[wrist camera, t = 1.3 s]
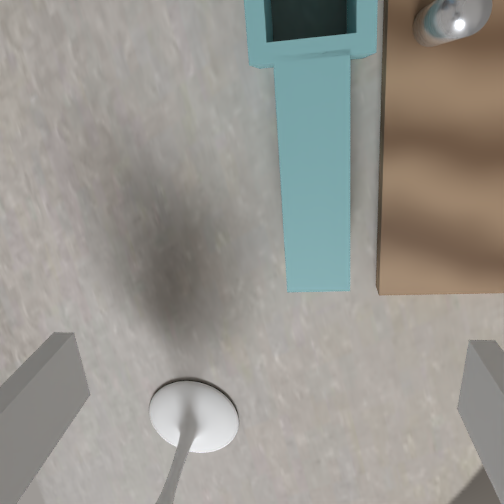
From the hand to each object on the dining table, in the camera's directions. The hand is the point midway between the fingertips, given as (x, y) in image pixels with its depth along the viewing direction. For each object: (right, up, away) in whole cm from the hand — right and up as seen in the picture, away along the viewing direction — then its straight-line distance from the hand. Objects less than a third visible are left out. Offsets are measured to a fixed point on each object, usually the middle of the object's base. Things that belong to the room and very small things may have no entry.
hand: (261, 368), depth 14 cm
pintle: (+10, +18, +11) cm, 23 cm away
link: (+4, +13, +14) cm, 19 cm away
